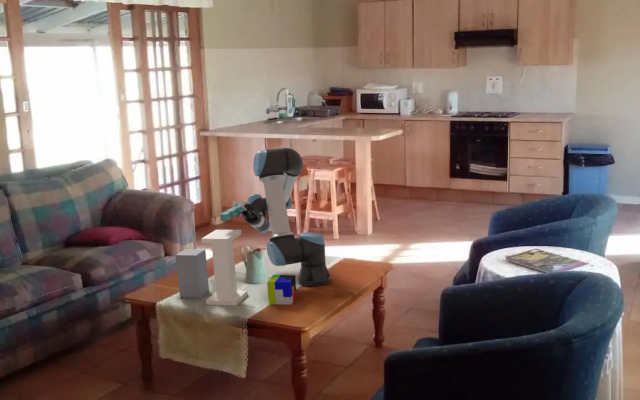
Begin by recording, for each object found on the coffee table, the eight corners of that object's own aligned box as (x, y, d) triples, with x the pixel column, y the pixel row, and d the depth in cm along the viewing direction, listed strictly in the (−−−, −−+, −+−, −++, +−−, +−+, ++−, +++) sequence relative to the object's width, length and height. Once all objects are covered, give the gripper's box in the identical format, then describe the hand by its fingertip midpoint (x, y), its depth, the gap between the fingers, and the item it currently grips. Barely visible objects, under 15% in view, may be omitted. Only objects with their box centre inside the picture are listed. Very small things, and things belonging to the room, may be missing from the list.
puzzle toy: (291, 304, 298) (289, 282, 296) (268, 304, 300) (267, 282, 298) (296, 296, 307) (295, 275, 305) (274, 296, 309) (273, 275, 308)
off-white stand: (219, 293, 318) (214, 229, 312) (248, 294, 315) (243, 229, 309) (205, 305, 303) (199, 238, 297) (235, 306, 299) (229, 238, 294)
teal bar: (241, 208, 331) (241, 202, 330) (247, 208, 330) (247, 202, 330) (220, 220, 306) (220, 214, 306) (227, 220, 305) (226, 214, 305)
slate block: (189, 290, 325) (185, 249, 321) (209, 291, 322) (205, 249, 319) (179, 297, 315) (175, 255, 312) (200, 298, 313) (196, 255, 309)
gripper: (269, 225, 340) (252, 211, 318) (238, 225, 344) (220, 211, 322) (270, 210, 342) (254, 195, 320) (239, 211, 346) (222, 195, 325)
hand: (237, 203), depth 321 cm, fingers closed on teal bar, 3 cm apart
